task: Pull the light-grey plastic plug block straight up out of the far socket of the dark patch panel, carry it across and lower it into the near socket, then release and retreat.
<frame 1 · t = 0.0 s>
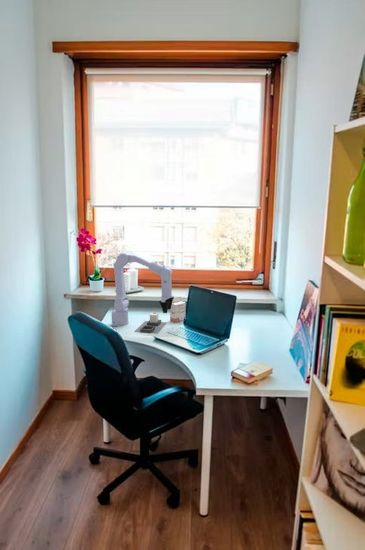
hand: (167, 311, 236), 10 cm above the table, fingers open, 7 cm apart
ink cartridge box: (178, 321, 250), on the table
plug: (154, 323, 243), point 1 cm above the table, touching panel
panel: (151, 328, 237), on the table
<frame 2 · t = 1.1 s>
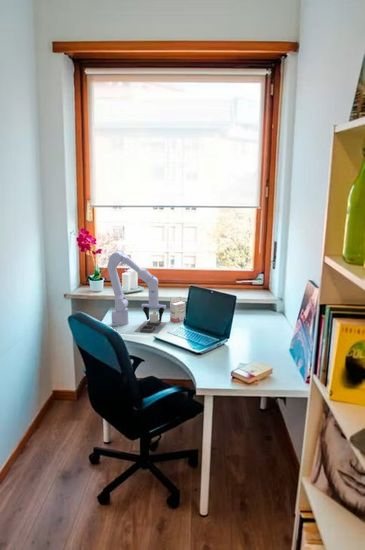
hand: (154, 319, 242), 3 cm above the table, fingers open, 7 cm apart
nothing on the table moved.
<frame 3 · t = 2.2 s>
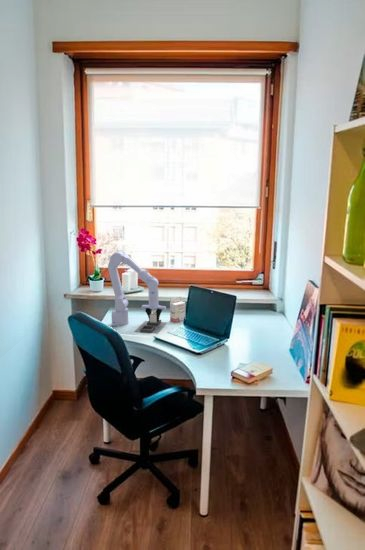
hand: (154, 320, 242), 3 cm above the table, fingers closed on plug, 4 cm apart
plug: (154, 323, 243), point 1 cm above the table, touching gripper, panel
everything else where it was.
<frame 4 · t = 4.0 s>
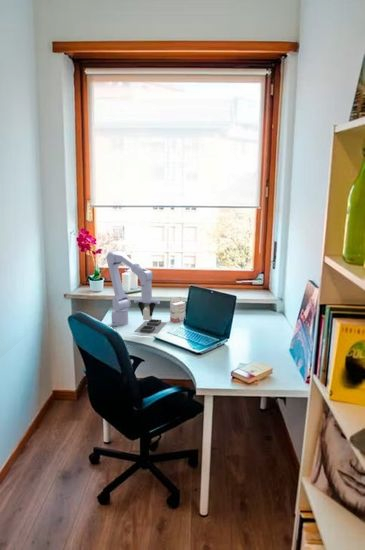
hand: (147, 315, 230), 10 cm above the table, fingers closed on plug, 4 cm apart
plug: (147, 319, 231), point 7 cm above the table, touching gripper
everything else where it was.
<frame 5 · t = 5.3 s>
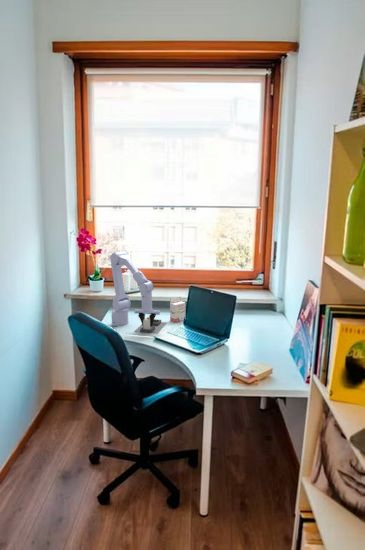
hand: (147, 326, 231), 3 cm above the table, fingers closed on plug, 4 cm apart
plug: (147, 329, 232), point 1 cm above the table, touching gripper
everything else where it was.
when the fingers open (3 cm above the table, at t = 6.0 s): plug stays where it is, resting on panel.
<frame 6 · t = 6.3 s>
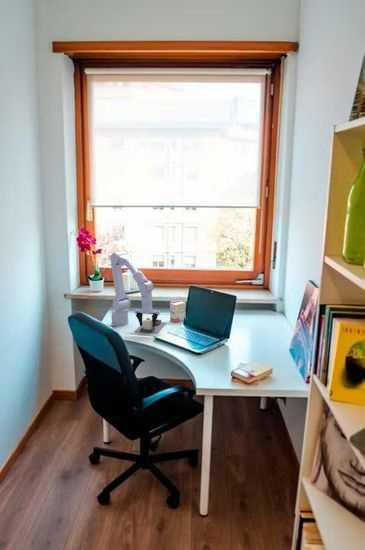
hand: (147, 326, 231), 3 cm above the table, fingers open, 7 cm apart
plug: (147, 330, 232), point 1 cm above the table, touching panel
everything else where it was.
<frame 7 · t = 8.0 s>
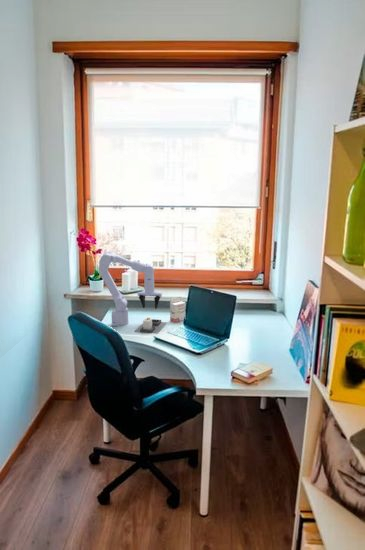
hand: (150, 307, 244), 10 cm above the table, fingers open, 7 cm apart
nothing on the table moved.
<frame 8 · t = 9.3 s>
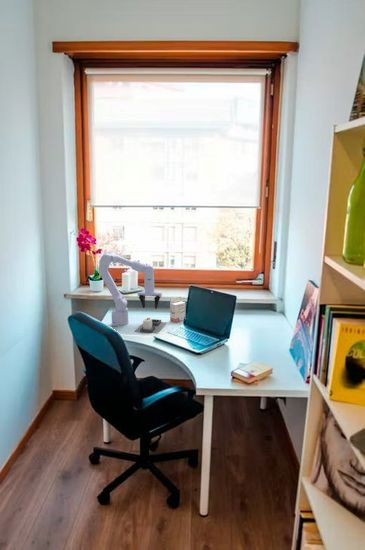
hand: (150, 307, 244), 10 cm above the table, fingers open, 7 cm apart
nothing on the table moved.
at the end: plug 0.4 cm from the target spot on the panel, point 0.8 cm above the panel's base; plug tilted 0°; the gripper is holding nothing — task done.
